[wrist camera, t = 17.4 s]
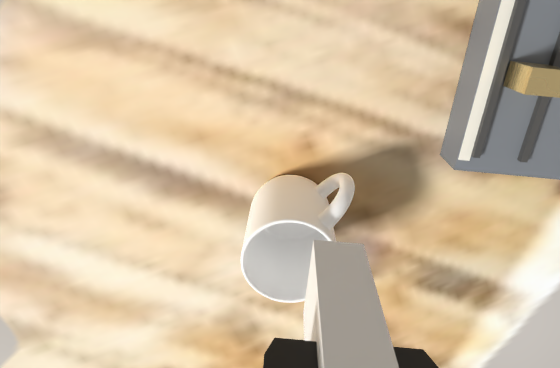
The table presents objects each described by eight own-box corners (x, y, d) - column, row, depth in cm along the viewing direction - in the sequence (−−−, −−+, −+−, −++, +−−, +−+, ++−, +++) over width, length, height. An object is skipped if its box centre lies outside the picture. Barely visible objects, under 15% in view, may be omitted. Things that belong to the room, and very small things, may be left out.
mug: (318, 131, 42) (326, 169, 32) (373, 186, 44) (395, 238, 34) (235, 207, 45) (220, 261, 36) (289, 255, 47) (288, 318, 38)
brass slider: (510, 60, 34) (532, 67, 31) (547, 64, 34) (573, 71, 31) (503, 85, 35) (524, 94, 32) (538, 89, 35) (563, 98, 32)
